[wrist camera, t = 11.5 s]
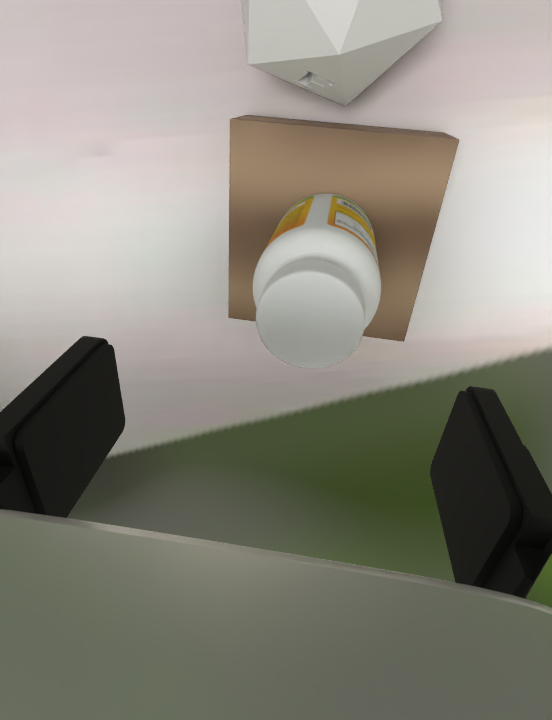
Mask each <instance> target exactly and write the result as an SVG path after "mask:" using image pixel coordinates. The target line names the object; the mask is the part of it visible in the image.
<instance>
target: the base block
mask: <svg viewBox="0 0 552 720" xmlns="http://www.w3.org/2000/svg"><path fill="white" fill-rule="evenodd" d="M458 143H459V139H456V138H454V137H452V136H450V135H448V134H446V133H441V132H430V131H419V130H408V129H397V128H386V127H374V126H363V125H352V124H341V123H330V122H319V121H307V120H296V119H285V118H274V117H263V116H252V115H245V116H241V117H237V118H232V119H230V188H229V318H234V319H242V320H249V321H256V310H257V308H256V305H255V302H254V297H253V278H254V273H255V269H256V266H257V264H258V261H259V259H260V257H261V255H262V253H263V251H264V250H265V248H266V246H267V245H268V243H269V241H270V239H271V238H272V236H273V234H274V232H275V230H276V228H277V226H278V225H279V223H280V221H281V219H282V218H283V216H284V215H285V214H286V212H287V211H288V210H289V209H290V208H291V207H292V206H293V205H294V204H296V203H297V202H299V201H300V200H302V199H304V198H306V197H309V196H312V195H316V194H323V193H328V194H336V195H340V196H343V197H345V198H348V199H349V200H351V201H353V202H354V203H356V204H357V205H358V206H359V207H360V208H361V209H362V210H363V211H364V213H365V214H366V216H367V217H368V219H369V221H370V223H371V226H372V229H373V232H374V237H375V244H376V251H377V258H378V265H379V271H380V278H381V295H380V301H379V305H378V308H377V311H376V313H375V315H374V317H373V319H372V320H371V322H370V323H369V325H368V326H367V327H366V328H365V329H364V332H363V335H362V336H367V337H374V338H382V339H389V340H396V341H404V340H405V336H406V332H407V329H408V325H409V321H410V318H411V314H412V310H413V307H414V303H415V300H416V296H417V292H418V289H419V285H420V281H421V278H422V274H423V270H424V267H425V263H426V259H427V256H428V252H429V248H430V245H431V241H432V238H433V234H434V230H435V227H436V223H437V219H438V216H439V212H440V208H441V205H442V201H443V197H444V194H445V190H446V186H447V183H448V179H449V176H450V172H451V168H452V165H453V161H454V157H455V154H456V150H457V146H458Z"/></svg>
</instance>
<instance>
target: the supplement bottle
mask: <svg viewBox="0 0 552 720" xmlns="http://www.w3.org/2000/svg"><path fill="white" fill-rule="evenodd" d="M380 295H381V278H380V271H379V265H378V258H377V251H376V244H375V237H374V232H373V229H372V226H371V223H370V221H369V219H368V217H367V216H366V214H365V213H364V211H363V210H362V209H361V208H360V207H359V206H358V205H357V204H356V203H354V202H353V201H351V200H349V199H348V198H345V197H343V196H340V195H336V194H328V193H323V194H316V195H312V196H309V197H306V198H304V199H302V200H300V201H299V202H297V203H296V204H294V205H293V206H292V207H291V208H290V209H289V210H288V211H287V212H286V214H285V215H284V216H283V218H282V219H281V221H280V223H279V225H278V226H277V228H276V230H275V232H274V234H273V236H272V238H271V239H270V241H269V243H268V245H267V246H266V248H265V250H264V251H263V253H262V255H261V257H260V259H259V261H258V264H257V266H256V269H255V273H254V278H253V297H254V302H255V305H256V308H257V310H256V325H257V330H258V333H259V336H260V338H261V340H262V342H263V343H264V345H265V346H266V347H267V348H268V350H269V351H270V352H271V353H272V354H274V355H275V356H276V357H277V358H279V359H280V360H282V361H284V362H286V363H288V364H291V365H294V366H297V367H301V368H322V367H327V366H330V365H333V364H336V363H338V362H340V361H342V360H343V359H345V358H346V357H347V356H348V355H350V354H351V353H352V352H353V351H354V350H355V348H356V347H357V345H358V344H359V342H360V340H361V338H362V335H363V332H364V329H365V328H366V327H367V326H368V325H369V323H370V322H371V320H372V319H373V317H374V315H375V313H376V311H377V308H378V305H379V301H380Z"/></svg>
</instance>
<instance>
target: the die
mask: <svg viewBox="0 0 552 720" xmlns="http://www.w3.org/2000/svg"><path fill="white" fill-rule="evenodd" d="M241 2H242V12H243V22H244V31H245V41H246V51H247V61H248V65H250V66H252V67H255V68H257V69H259V70H262V71H264V72H266V73H269V74H271V75H273V76H276V77H278V78H280V79H283V80H285V81H287V82H290V83H292V84H294V85H297V86H299V87H301V88H304V89H306V90H308V91H311V92H313V93H315V94H318V95H320V96H322V97H325V98H327V99H329V100H332V101H334V102H336V103H339V104H341V105H343V106H347V105H348V104H349V103H350V102H351V101H352V100H353V99H355V98H356V97H357V96H358V95H359V94H360V93H361V92H362V91H364V90H365V89H366V88H367V87H368V86H369V85H370V84H371V83H373V82H374V81H375V80H376V79H377V78H378V77H379V76H380V75H382V74H383V73H384V72H385V71H386V70H387V69H388V68H389V67H391V66H392V65H393V64H394V63H395V62H396V61H397V60H398V59H400V58H401V57H402V56H403V55H404V54H405V53H406V52H408V51H409V50H410V49H411V48H412V47H413V46H414V45H415V44H417V43H418V42H419V41H420V40H421V39H422V38H423V37H424V36H426V35H427V34H428V33H429V32H430V31H431V30H432V29H433V28H435V27H436V26H437V25H438V24H439V23H440V22H441V21H442V0H241Z"/></svg>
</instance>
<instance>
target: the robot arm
mask: <svg viewBox="0 0 552 720" xmlns="http://www.w3.org/2000/svg"><path fill="white" fill-rule="evenodd" d="M124 426H125V415H124V409H123V403H122V397H121V390H120V384H119V378H118V372H117V365H116V359H115V353H114V348H113V346H112V345H109V344H108V342H107V340H106V339H103V338H96V337H88V336H83V337H81V338H80V339H79V340H78V341H77V342H76V343H74V344H73V345H72V346H71V347H70V348H69V349H68V350H67V351H66V352H65V353H64V354H63V355H62V356H60V357H59V358H58V359H57V360H56V361H55V362H54V363H53V364H52V365H51V366H50V367H49V368H47V369H46V370H45V371H44V372H43V373H42V374H41V375H40V376H39V377H38V378H37V379H36V380H34V381H33V382H32V383H31V384H30V385H29V386H28V387H27V388H26V389H25V390H24V391H23V392H22V393H20V394H19V395H18V396H17V397H16V398H15V399H14V400H13V401H12V402H11V403H10V404H9V405H7V406H6V407H5V408H4V409H3V410H2V411H1V412H0V720H552V494H551V492H550V490H549V488H548V486H547V485H546V483H545V481H544V479H543V477H542V475H541V473H540V471H539V470H538V467H537V466H536V464H535V462H534V460H533V458H532V456H531V454H530V452H529V451H528V449H527V448H526V447H525V446H524V445H523V444H522V442H521V440H520V438H519V436H518V434H517V432H516V430H515V428H514V426H513V425H512V423H511V421H510V419H509V417H508V415H507V413H506V411H505V409H504V407H503V406H502V404H501V402H500V400H499V398H498V396H497V394H496V392H495V391H494V390H493V389H486V388H479V387H471V386H470V387H468V388H467V389H466V391H460V392H459V393H458V395H457V398H456V401H455V403H454V406H453V409H452V411H451V414H450V416H449V419H448V422H447V424H446V427H445V429H444V432H443V435H442V437H441V440H440V443H439V445H438V448H437V451H436V453H435V456H434V459H433V461H432V464H431V471H430V475H431V480H432V485H433V489H434V493H435V497H436V501H437V506H438V510H439V514H440V518H441V522H442V527H443V531H444V535H445V540H446V544H447V548H448V552H449V557H450V560H451V565H452V569H453V574H454V577H455V582H456V583H454V582H449V581H444V580H438V579H433V578H427V577H422V576H417V575H411V574H406V573H400V572H394V571H388V570H382V569H376V568H371V567H365V566H359V565H353V564H347V563H341V562H335V561H329V560H323V559H317V558H312V557H306V556H299V555H293V554H288V553H282V552H276V551H269V550H263V549H257V548H251V547H244V546H238V545H233V544H226V543H221V542H214V541H208V540H202V539H196V538H190V537H184V536H177V535H171V534H165V533H159V532H152V531H146V530H140V529H133V528H127V527H121V526H114V525H108V524H102V523H95V522H89V521H83V520H76V519H70V518H67V516H68V514H69V513H70V511H71V510H72V508H73V506H74V505H75V504H76V502H77V501H78V499H79V498H80V496H81V495H82V493H83V492H84V490H85V488H86V487H87V485H88V484H89V482H90V481H91V479H92V478H93V476H94V475H95V473H96V472H97V470H98V469H99V467H100V465H101V464H102V462H103V461H104V459H105V458H106V456H107V455H108V453H109V452H110V450H111V449H112V447H113V446H114V444H115V443H116V441H117V439H118V438H119V436H120V435H121V433H122V432H123V429H124Z"/></svg>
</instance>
